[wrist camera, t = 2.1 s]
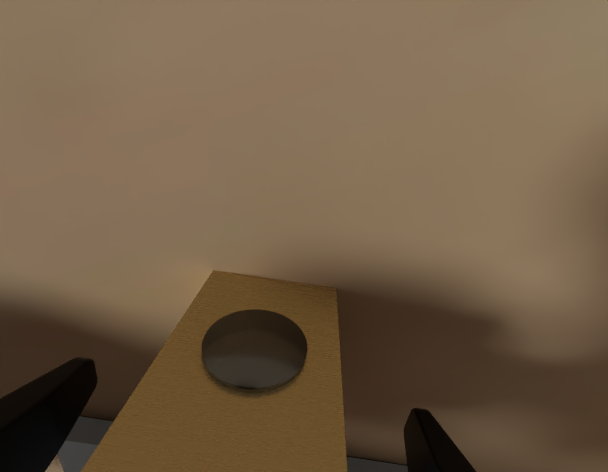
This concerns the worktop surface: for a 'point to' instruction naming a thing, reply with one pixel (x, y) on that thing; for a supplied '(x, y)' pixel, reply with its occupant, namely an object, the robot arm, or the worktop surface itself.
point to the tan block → (238, 386)
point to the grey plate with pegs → (93, 430)
